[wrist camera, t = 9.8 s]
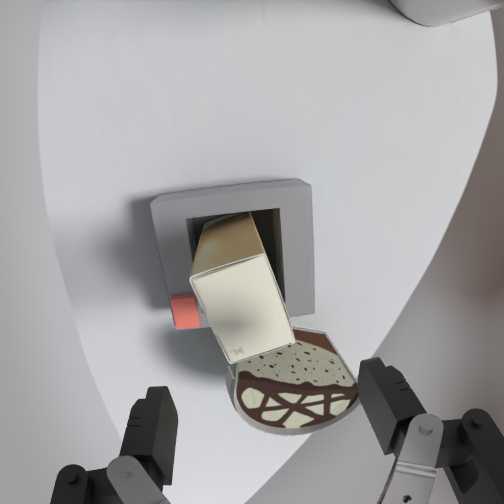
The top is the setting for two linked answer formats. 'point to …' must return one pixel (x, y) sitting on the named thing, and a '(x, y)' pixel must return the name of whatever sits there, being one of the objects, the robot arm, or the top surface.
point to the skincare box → (239, 289)
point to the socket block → (231, 201)
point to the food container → (294, 387)
